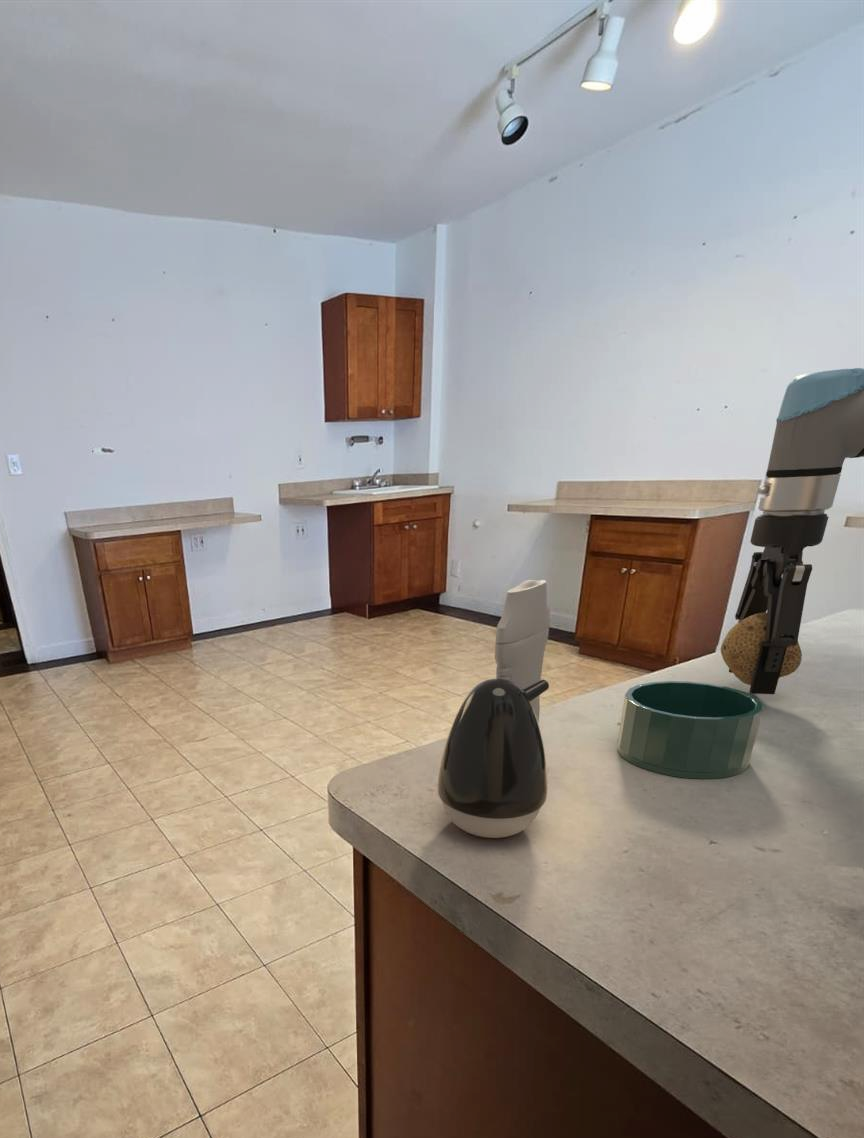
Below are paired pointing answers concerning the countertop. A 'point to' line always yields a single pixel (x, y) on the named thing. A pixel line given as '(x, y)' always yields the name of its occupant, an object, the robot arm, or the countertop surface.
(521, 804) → the pump dispenser
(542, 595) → the plastic bottle
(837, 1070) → the countertop surface
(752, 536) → the robot arm
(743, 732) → the crock
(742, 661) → the natural sponge
